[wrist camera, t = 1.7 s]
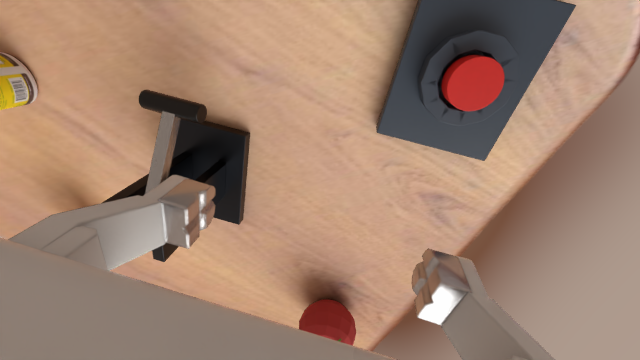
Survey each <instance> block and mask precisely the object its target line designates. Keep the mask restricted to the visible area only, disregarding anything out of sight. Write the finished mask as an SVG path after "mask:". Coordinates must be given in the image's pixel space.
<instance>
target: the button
mask: <svg viewBox="0 0 640 360" xmlns="http://www.w3.org/2000/svg"><path fill="white" fill-rule="evenodd" d="M504 78H505V77H504V71H503V68H502V66H501V65H500V64H499V63H498V62H497V61H496V60H494V59H492V58H490V57H485V56H480V55H468V56H464V57H462V58H460V59H458V60H456V61H455V62H454V63H452V64H451V65H450V66H449V68H448V69H447V70H446V72H445V74H444V76H443V79H442V85H441V87H442V93H443V95H444V97H445V98H446V100H447V101H448V102H450V103H451V104H452V105H453V106H454V107H456V108H457V109H460V110H463V111H476V110H479V109H482V108H484V107H486V106H488V105H489V104H491V103H492V102H493V101H494V100H495V99H496V98H497V97H498V95H499V94H500V92H501V90H502V88H503V85H504Z"/></svg>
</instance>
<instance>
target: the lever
mask: <svg viewBox="0 0 640 360" xmlns="http://www.w3.org/2000/svg"><path fill="white" fill-rule="evenodd" d="M139 104H140V105H141V107H143V108H144V109H148V110H152V111H155V112H159V113H162V115H161V120H160V125H159V129H158V134H157V139H156V144H155V148H154V153H153V158H152V163H151V167H150V172H149V177H148V182H147V186H146V191H145V194H146V193H148V192H149V191H151V190H152V189H153V188H155V187H156V186H158V185H159V184H160V183H162V182H163V181H165V180H166V179H168V176H169V172H170V167H171V162H172V158H173V153H174V148H175V144H176V139H177V135H178V130H179V125H180V121H181V119H185V120H189V121H193V122H196V123H202V122H204V120H205V118H206V115H207V109H206V107H205V106H204V105H203V104H199V103H195V102H192V101H188V100H184V99H180V98H177V97H173V96H169V95H165V94H162V93H158V92H154V91H150V90H143V91H142V92H141V93H140V95H139Z"/></svg>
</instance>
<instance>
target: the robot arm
mask: <svg viewBox="0 0 640 360" xmlns="http://www.w3.org/2000/svg"><path fill="white" fill-rule="evenodd" d="M214 197H215V188H214V186H212V185H208V184H205V183H202V182H199V181H196V180H193V179H189V178H186V177H182V176H179V175H172V176H170V177H169V178H168V179H166V180H165V181H163V182H162V183H160V184H159V185H158V186H156V187H155V188H153V189H152V190H151V191H149V192H148V193H146V194H145V195H143V196H140V195H137V196H132V197H128V198H123V199H119V200H115V201H110V202H106V203H101V204H97V205H93V206H88V207H84V208H79V209H75V210H71V211H66V212H62V213H58V214H53V215H51V216H49V217H47V218H45V219H44V220H42V221H40V222H38V223H36V224H35V225H33V226H31V227H29V228H28V229H26V230H24V231H22V232H21V233H19V234H17V235H15V236H14V237H12V238H10V239H8V240H6V239H3V238H0V360H398V359H394V358H391V357H387V356H385V355H381V354H378V353H375V352H372V351H368V350H365V349H362V348H358V347H355V346H352V345H349V344H345V343H342V342H339V341H336V340H332V339H329V338H326V337H322V336H319V335H316V334H313V333H309V332H306V331H303V330H300V329H296V328H293V327H290V326H287V325H283V324H280V323H277V322H274V321H270V320H267V319H264V318H261V317H257V316H254V315H251V314H248V313H244V312H241V311H238V310H235V309H231V308H228V307H225V306H222V305H218V304H215V303H212V302H209V301H205V300H202V299H199V298H196V297H192V296H189V295H186V294H183V293H179V292H176V291H173V290H170V289H166V288H163V287H160V286H156V285H153V284H150V283H147V282H143V281H140V280H137V279H134V278H130V277H127V276H124V275H121V274H117V273H114V272H111V271H110V270H112V269H114V268H116V267H118V266H120V265H122V264H124V263H127V262H129V261H131V260H133V259H135V258H137V257H139V256H141V255H143V254H145V253H147V252H149V251H152V250H154V249H156V248H158V247H160V246H162V245H164V244H165V242H166V243H169V244H173V245H177V246H180V247H184V248H188V249H189V248H190V247H191V245H192V244H193V243H194V242H195V241H196V240H197V238H198V237H199V231H200V230H203V229H205V228H207V227H208V225H209V224H210V223H211V221H212V219H213V216H214V212H215V204H214V202H213V201H212V199H213V198H214ZM422 257H423V262H421V263H419V264H417V265H416V267H415V269H414V271H413V275H412V289H413V291H414V292H415V293H416V294H417V297H416V298H415V300H414V302H415V308H416V314H417V317H418V318H421V319H424V320H427V321H430V322H433V323H436V324H439V325H442V326H441V327H442V329H443V330H444V332H445V333H446V335H447V337H448V338H449V340H450V341H451V343H452V344H453V346H454V348H455V349H456V350H457V352H458V354H459V355H460V357H461V358H462V360H555V359H554V358H553V357H552V356H551V355H550V354H549V353H548V352H547V351H546V350H545V349H544V348H543V347H542V346H541V345H540V344H539V343H537V342H536V341H535V340H534V339H533V338H532V337H531V336H530V335H529V334H528V333H527V332H526V331H525V330H524V329H523V328H522V327H521V326H520V325H519V324H518V323H517V322H516V321H515V320H514V319H513V318H512V317H511V316H509V314H508V313H507V312H506V311H505V310H504V309H503V308H502V307H501V306H499V305H498V304H497V303H496V302H495V301H494V300H493V299H490V298H488V295H487V293H486V291H485V288H484V286H483V284H482V282H481V280H480V277H479V275H478V273H477V270H476V268H475V266H474V264H473V262H472V261H471V260H470V259H466V258H462V257H458V256H453V255H449V254H446V253H442V252H439V251H435V250H432V249H427V250H426V251H425V252H424V254H423V255H422Z"/></svg>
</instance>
